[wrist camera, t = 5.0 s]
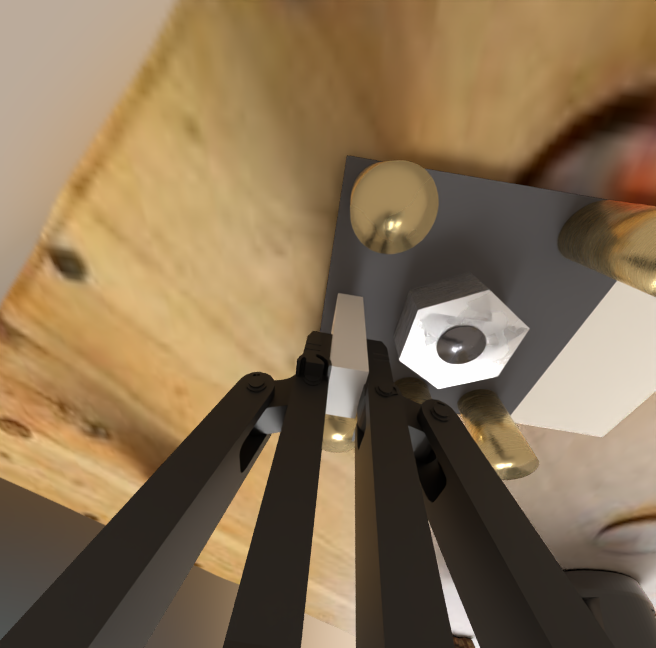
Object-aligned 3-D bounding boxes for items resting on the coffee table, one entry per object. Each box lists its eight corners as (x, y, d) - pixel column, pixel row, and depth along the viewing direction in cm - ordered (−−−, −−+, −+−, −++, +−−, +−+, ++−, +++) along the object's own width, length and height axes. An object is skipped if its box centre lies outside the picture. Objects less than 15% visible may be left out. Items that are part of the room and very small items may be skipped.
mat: (814, 235, 13) (833, 237, 13) (596, 430, 22) (602, 437, 21) (347, 155, 13) (346, 155, 12) (312, 384, 21) (311, 389, 21)
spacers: (642, 205, 12) (791, 226, 8) (487, 418, 21) (522, 483, 17) (357, 157, 12) (359, 152, 8) (317, 390, 21) (308, 448, 17)
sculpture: (448, 640, 64) (455, 675, 60) (384, 623, 60) (387, 660, 56) (473, 636, 60) (482, 674, 55) (407, 618, 56) (411, 657, 52)
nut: (502, 261, 14) (530, 279, 12) (508, 344, 17) (531, 370, 15) (381, 299, 16) (385, 320, 14) (404, 368, 19) (410, 395, 17)
